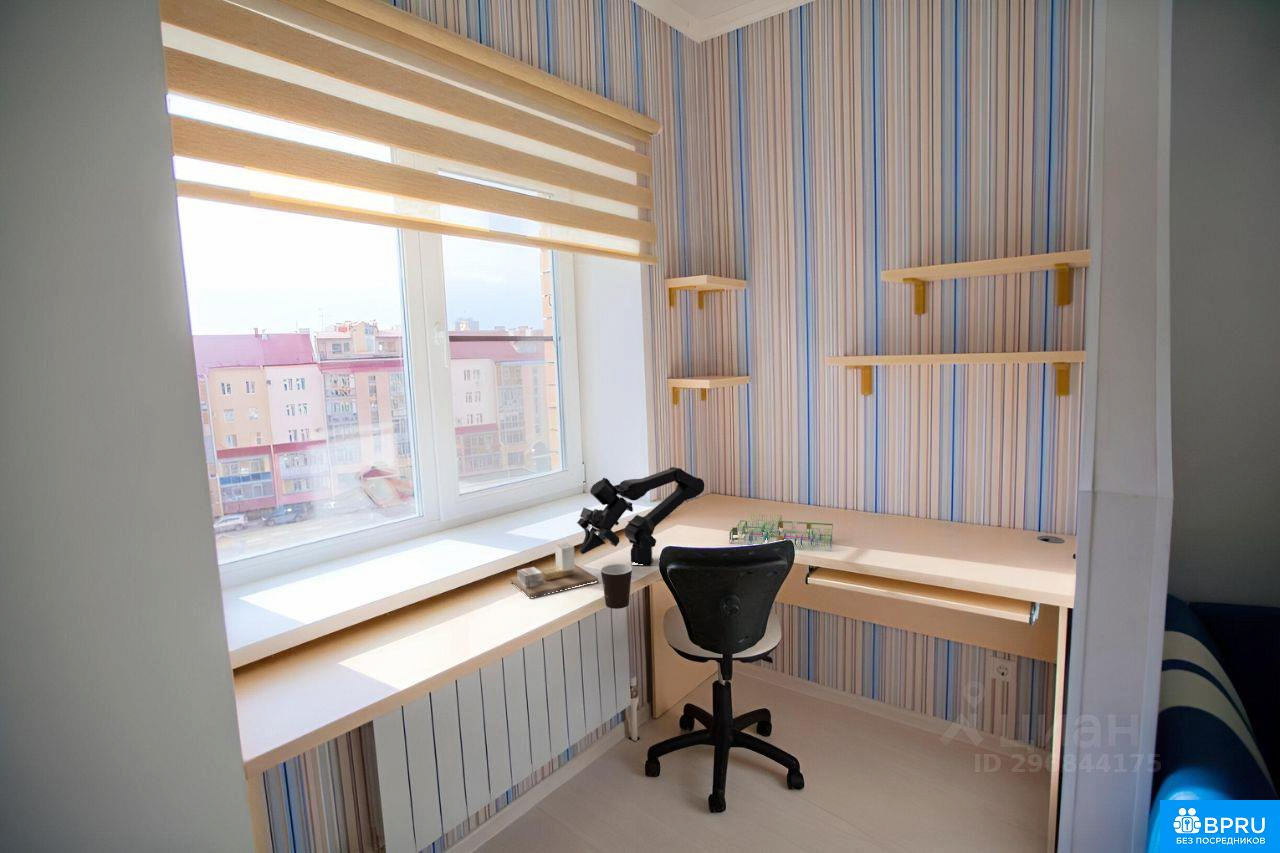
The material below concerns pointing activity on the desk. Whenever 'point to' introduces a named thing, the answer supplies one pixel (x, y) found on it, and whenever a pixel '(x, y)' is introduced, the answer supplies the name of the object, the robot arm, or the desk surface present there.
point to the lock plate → (549, 581)
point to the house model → (780, 524)
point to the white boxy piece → (561, 562)
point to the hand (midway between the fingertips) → (581, 553)
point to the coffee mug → (616, 585)
